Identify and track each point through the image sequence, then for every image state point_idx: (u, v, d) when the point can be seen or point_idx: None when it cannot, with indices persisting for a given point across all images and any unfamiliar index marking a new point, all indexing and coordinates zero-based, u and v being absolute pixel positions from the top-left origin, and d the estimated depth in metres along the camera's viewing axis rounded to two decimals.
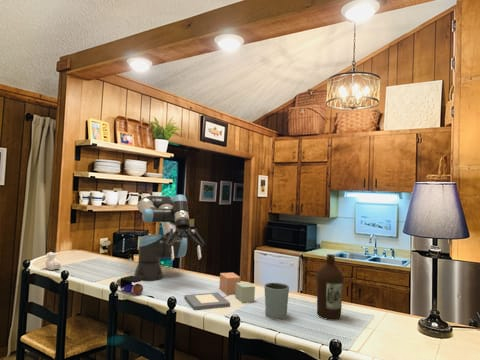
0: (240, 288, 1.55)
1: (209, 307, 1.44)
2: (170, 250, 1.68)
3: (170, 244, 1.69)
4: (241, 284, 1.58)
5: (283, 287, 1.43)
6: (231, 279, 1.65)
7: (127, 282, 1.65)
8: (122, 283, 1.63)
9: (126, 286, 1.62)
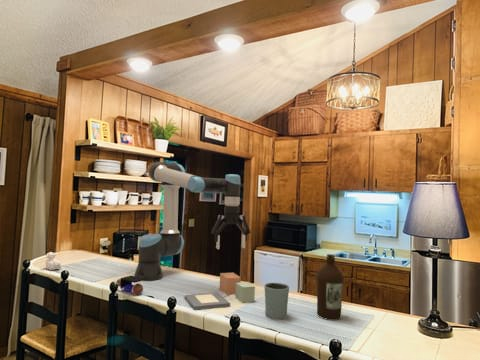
0: (240, 288, 1.55)
1: (209, 307, 1.44)
2: (216, 239, 1.67)
3: (217, 234, 1.67)
4: (241, 284, 1.58)
5: (283, 287, 1.43)
6: (231, 279, 1.65)
7: (127, 282, 1.65)
8: (122, 283, 1.63)
9: (126, 286, 1.62)
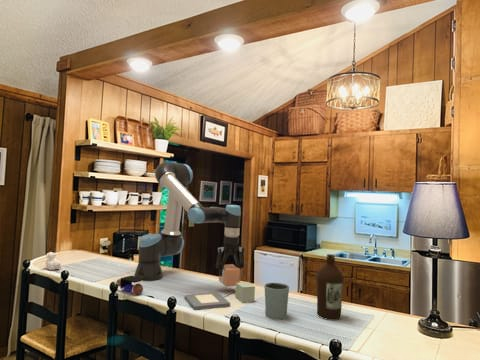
0: (240, 288, 1.55)
1: (209, 307, 1.44)
2: (221, 274, 1.68)
3: (222, 268, 1.67)
4: (241, 284, 1.58)
5: (283, 287, 1.43)
6: (231, 271, 1.66)
7: (127, 282, 1.65)
8: (122, 283, 1.63)
9: (126, 286, 1.62)
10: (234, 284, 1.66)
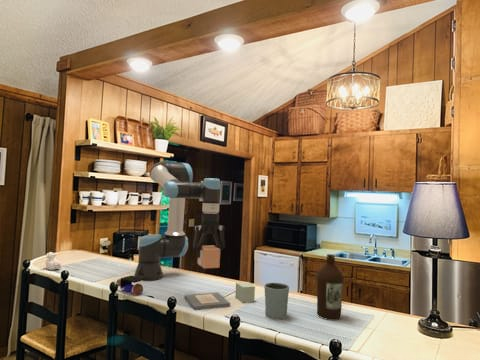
0: (240, 288, 1.55)
1: (209, 307, 1.44)
2: (198, 255, 1.50)
3: (199, 248, 1.49)
4: (241, 284, 1.58)
5: (283, 287, 1.43)
6: (209, 251, 1.47)
7: (127, 282, 1.65)
8: (122, 283, 1.63)
9: (126, 286, 1.62)
10: (213, 266, 1.48)
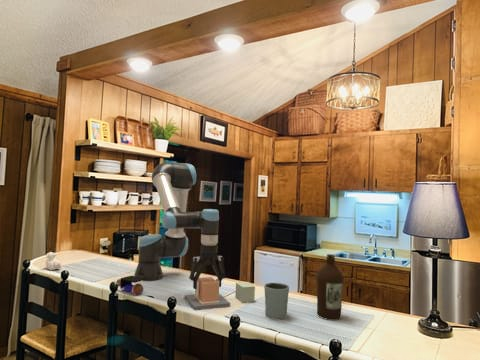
0: (240, 288, 1.55)
1: (209, 307, 1.44)
2: (195, 286, 1.49)
3: (196, 280, 1.49)
4: (241, 284, 1.58)
5: (283, 287, 1.43)
6: (208, 285, 1.47)
7: (127, 282, 1.65)
8: (122, 283, 1.63)
9: (126, 286, 1.62)
10: (212, 300, 1.48)
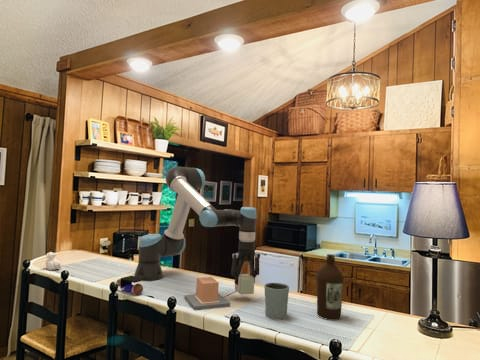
0: (240, 280, 1.56)
1: (209, 307, 1.44)
2: (236, 282, 1.56)
3: (237, 276, 1.56)
4: (241, 276, 1.58)
5: (283, 287, 1.43)
6: (208, 285, 1.47)
7: (127, 282, 1.65)
8: (122, 283, 1.63)
9: (126, 286, 1.62)
10: (212, 300, 1.48)
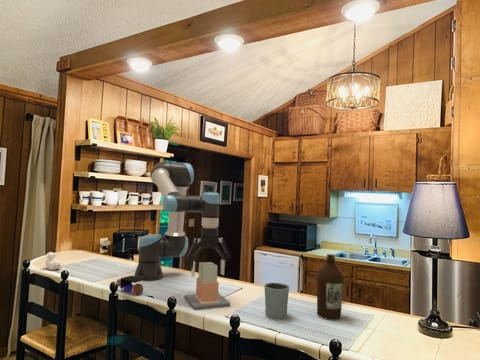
0: (202, 267, 1.50)
1: (209, 307, 1.44)
2: (191, 266, 1.49)
3: (192, 259, 1.48)
4: (204, 264, 1.52)
5: (283, 287, 1.43)
6: (208, 285, 1.47)
7: (127, 282, 1.65)
8: (122, 283, 1.63)
9: (126, 286, 1.62)
10: (212, 300, 1.48)
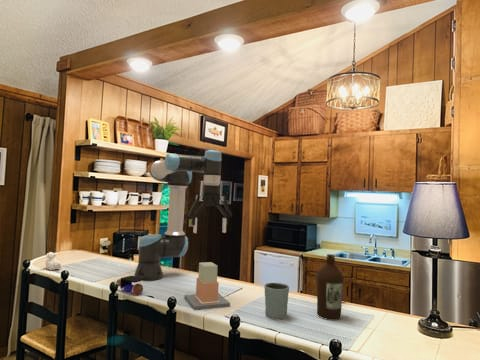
0: (202, 267, 1.50)
1: (209, 307, 1.44)
2: (193, 222, 1.49)
3: (194, 216, 1.49)
4: (204, 264, 1.52)
5: (283, 287, 1.43)
6: (208, 285, 1.47)
7: (127, 282, 1.65)
8: (122, 283, 1.63)
9: (126, 286, 1.62)
10: (212, 300, 1.48)
